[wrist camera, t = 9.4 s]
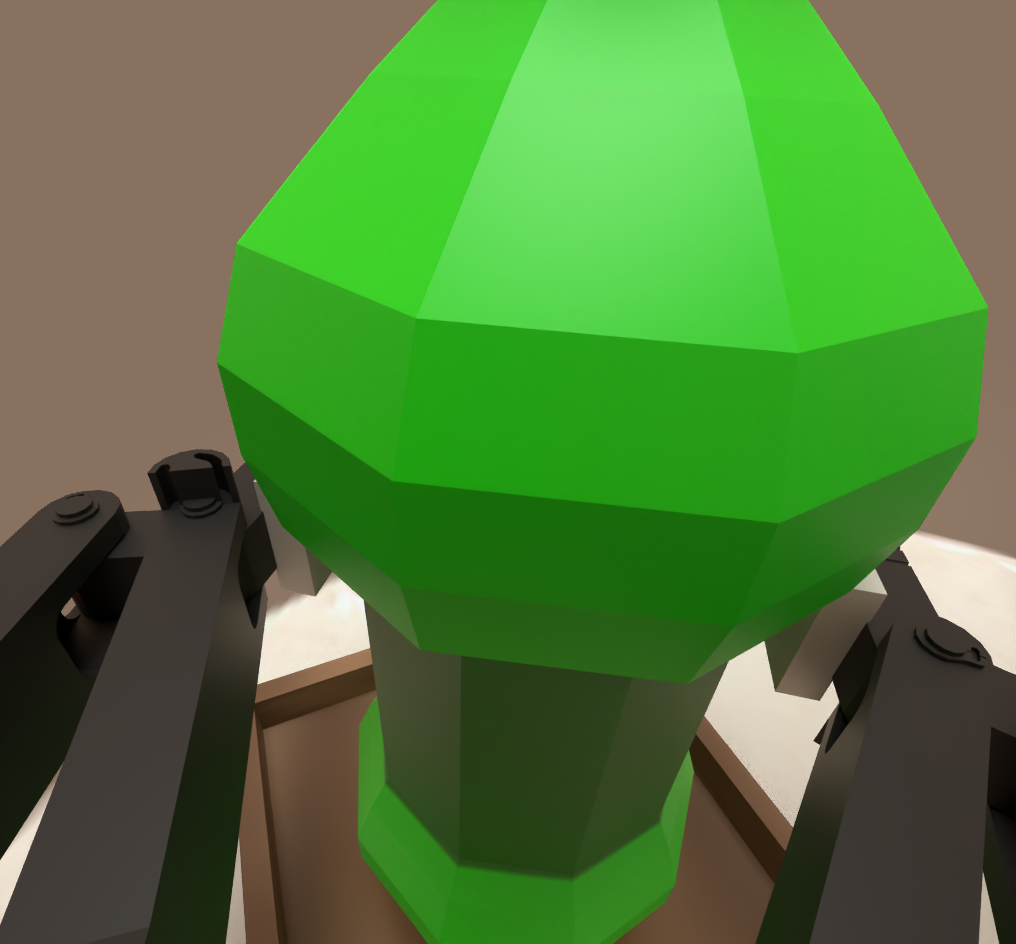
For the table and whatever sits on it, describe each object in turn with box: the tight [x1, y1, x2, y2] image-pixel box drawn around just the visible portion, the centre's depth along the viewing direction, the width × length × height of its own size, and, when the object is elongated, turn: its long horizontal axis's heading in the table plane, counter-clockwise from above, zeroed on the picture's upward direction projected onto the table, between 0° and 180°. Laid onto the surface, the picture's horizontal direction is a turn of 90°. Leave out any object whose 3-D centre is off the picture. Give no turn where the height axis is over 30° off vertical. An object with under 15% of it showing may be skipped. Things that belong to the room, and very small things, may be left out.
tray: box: [239, 648, 793, 944], centre depth 19 cm, size 17×17×2 cm
